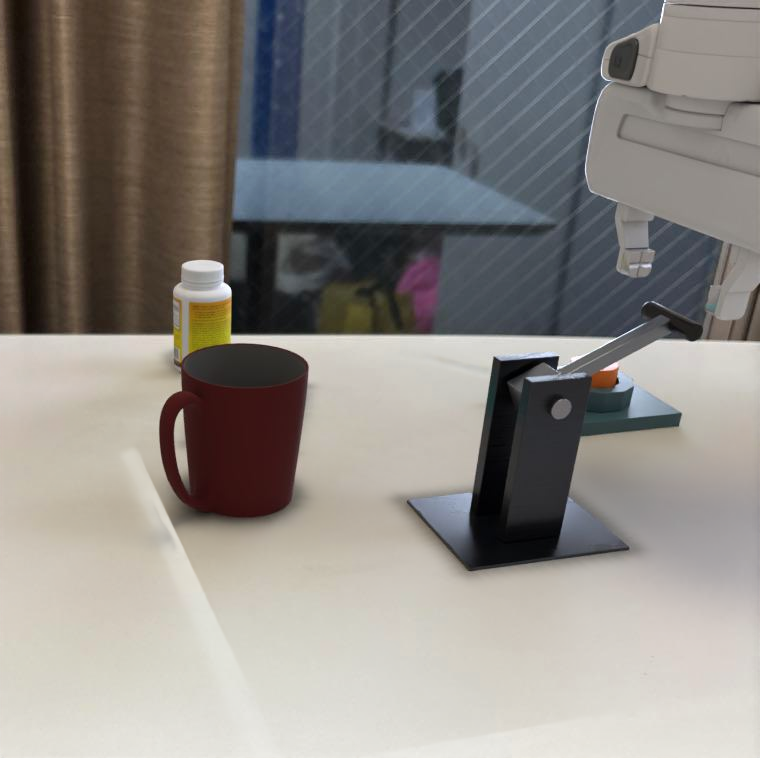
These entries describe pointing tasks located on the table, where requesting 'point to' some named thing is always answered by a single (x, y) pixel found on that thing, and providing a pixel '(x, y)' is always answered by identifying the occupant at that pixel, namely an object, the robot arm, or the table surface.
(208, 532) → the table surface
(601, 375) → the button
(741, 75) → the robot arm
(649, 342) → the switch lever
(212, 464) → the mug
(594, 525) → the switch bracket
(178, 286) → the supplement bottle
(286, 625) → the table surface
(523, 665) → the table surface
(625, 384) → the button housing
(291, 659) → the table surface
